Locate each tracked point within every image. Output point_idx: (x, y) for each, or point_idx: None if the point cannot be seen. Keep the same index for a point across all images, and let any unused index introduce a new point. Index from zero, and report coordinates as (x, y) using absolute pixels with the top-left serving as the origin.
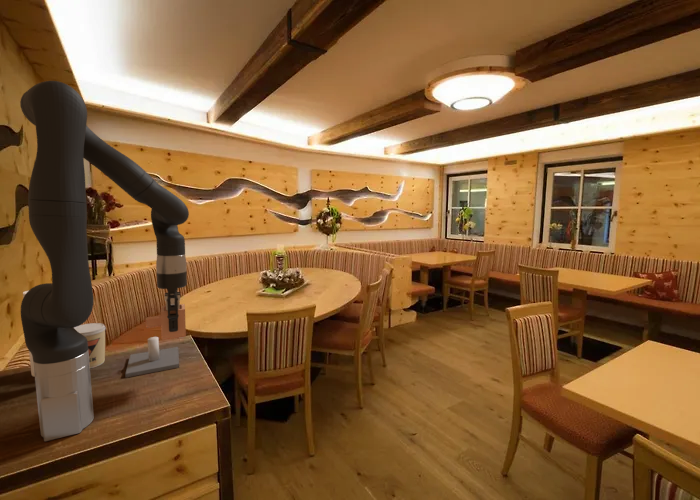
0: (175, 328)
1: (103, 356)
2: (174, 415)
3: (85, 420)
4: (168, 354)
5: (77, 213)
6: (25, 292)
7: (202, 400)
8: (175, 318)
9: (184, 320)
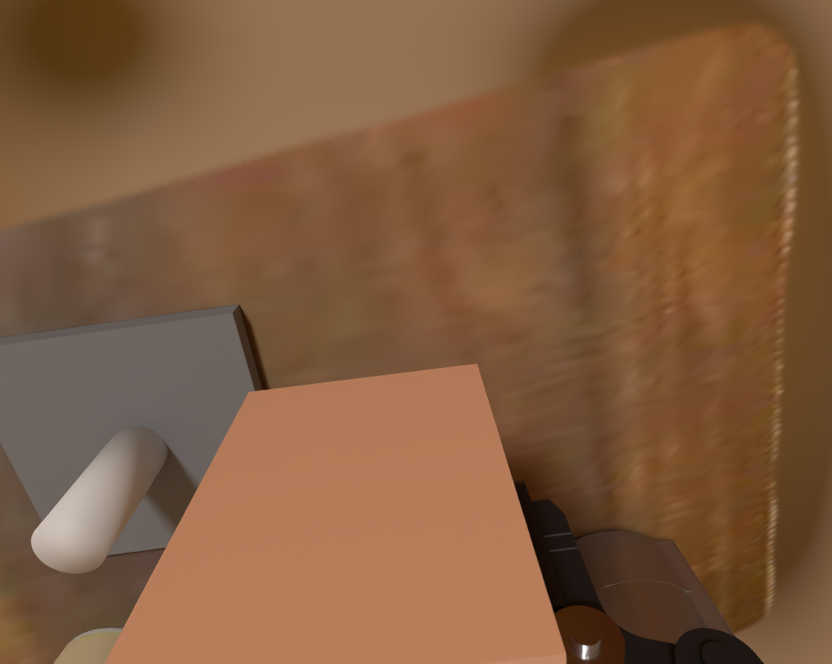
0: (564, 520)
1: (101, 656)
2: (737, 264)
3: (656, 554)
4: (80, 389)
5: None
6: None
7: (676, 142)
8: (628, 637)
9: (513, 491)
